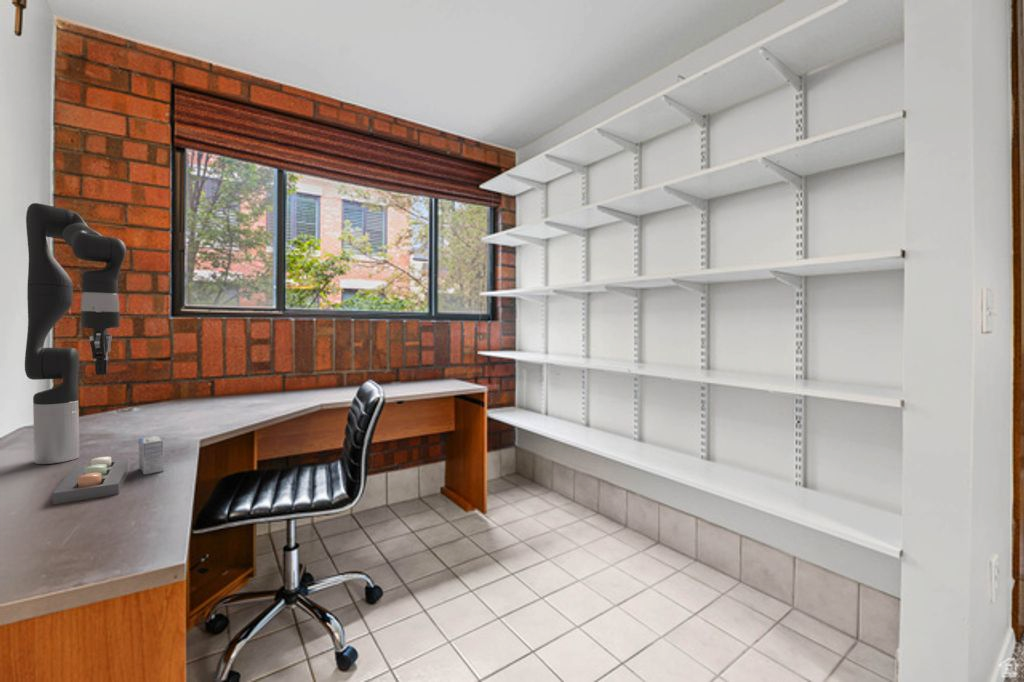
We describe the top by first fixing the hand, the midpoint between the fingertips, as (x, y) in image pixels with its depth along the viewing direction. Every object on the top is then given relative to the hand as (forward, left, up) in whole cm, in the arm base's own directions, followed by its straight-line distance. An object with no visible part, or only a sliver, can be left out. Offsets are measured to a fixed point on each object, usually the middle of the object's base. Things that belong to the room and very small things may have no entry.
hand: (101, 374), depth 118 cm
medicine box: (+4, +11, -27) cm, 29 cm away
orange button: (+18, 0, -26) cm, 31 cm away
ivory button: (+2, 0, -26) cm, 26 cm away
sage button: (+10, 0, -25) cm, 27 cm away
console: (+10, 0, -27) cm, 29 cm away
